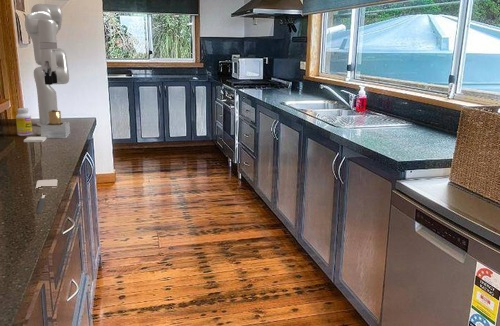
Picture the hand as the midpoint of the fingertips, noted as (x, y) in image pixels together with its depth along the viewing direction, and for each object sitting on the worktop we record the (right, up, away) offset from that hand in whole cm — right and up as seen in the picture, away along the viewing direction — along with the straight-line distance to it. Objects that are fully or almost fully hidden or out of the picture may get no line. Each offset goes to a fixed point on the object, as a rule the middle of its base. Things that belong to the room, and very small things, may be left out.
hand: (51, 83), depth 217 cm
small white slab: (+33, -48, -81) cm, 100 cm away
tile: (-5, -27, -5) cm, 28 cm away
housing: (0, -24, +6) cm, 25 cm away
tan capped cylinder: (0, -22, +6) cm, 23 cm away
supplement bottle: (-16, -24, +7) cm, 30 cm away
